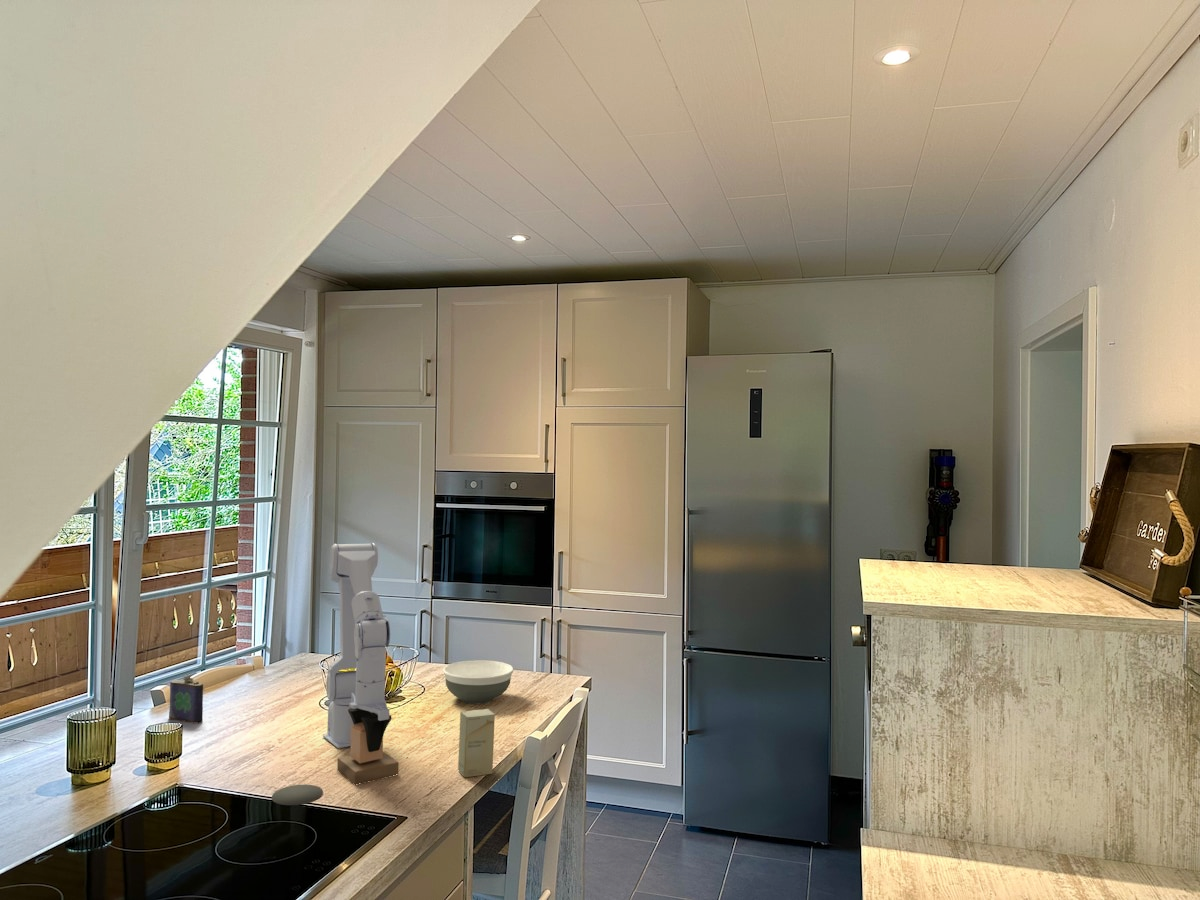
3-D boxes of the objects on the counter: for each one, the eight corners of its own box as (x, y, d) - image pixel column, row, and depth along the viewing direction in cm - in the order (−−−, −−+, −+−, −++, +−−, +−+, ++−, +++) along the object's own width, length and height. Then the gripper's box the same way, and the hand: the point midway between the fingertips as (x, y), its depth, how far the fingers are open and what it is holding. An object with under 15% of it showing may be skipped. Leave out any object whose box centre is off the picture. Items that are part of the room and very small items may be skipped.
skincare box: (464, 778, 163) (465, 717, 164) (457, 770, 167) (459, 711, 167) (493, 773, 166) (495, 713, 166) (486, 766, 170) (488, 707, 170)
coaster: (265, 794, 154) (265, 791, 154) (313, 784, 160) (313, 780, 160) (280, 811, 147) (280, 808, 147) (329, 799, 152) (329, 796, 152)
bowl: (477, 685, 230) (477, 656, 231) (527, 698, 219) (528, 667, 220) (427, 700, 215) (427, 669, 215) (478, 714, 204) (479, 681, 204)
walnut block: (337, 772, 166) (337, 757, 166) (379, 763, 171) (379, 749, 171) (354, 787, 159) (355, 771, 159) (398, 777, 164) (398, 762, 164)
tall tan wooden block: (350, 756, 165) (350, 724, 165) (373, 750, 168) (373, 719, 168) (359, 763, 161) (360, 730, 161) (382, 757, 164) (383, 725, 164)
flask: (166, 719, 194) (168, 674, 194) (176, 715, 197) (178, 671, 197) (196, 724, 191) (198, 678, 192) (206, 720, 194) (208, 675, 194)
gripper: (337, 674, 168) (335, 740, 168) (365, 690, 157) (363, 761, 157) (370, 669, 173) (368, 733, 173) (400, 685, 161) (398, 754, 161)
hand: (368, 746), depth 165 cm, fingers closed on tall tan wooden block, 5 cm apart
